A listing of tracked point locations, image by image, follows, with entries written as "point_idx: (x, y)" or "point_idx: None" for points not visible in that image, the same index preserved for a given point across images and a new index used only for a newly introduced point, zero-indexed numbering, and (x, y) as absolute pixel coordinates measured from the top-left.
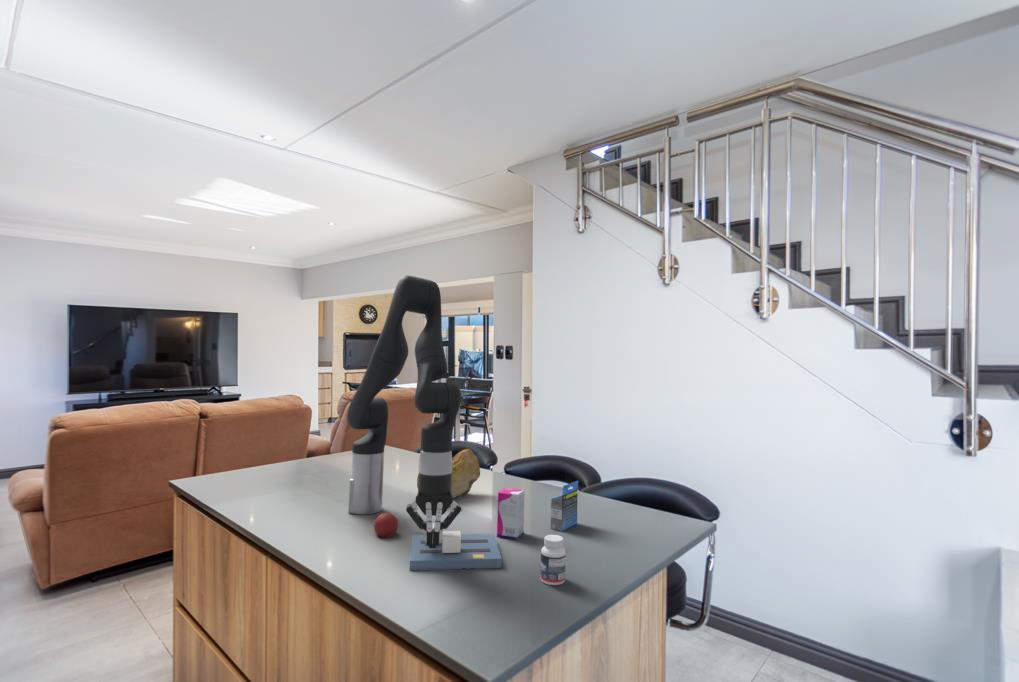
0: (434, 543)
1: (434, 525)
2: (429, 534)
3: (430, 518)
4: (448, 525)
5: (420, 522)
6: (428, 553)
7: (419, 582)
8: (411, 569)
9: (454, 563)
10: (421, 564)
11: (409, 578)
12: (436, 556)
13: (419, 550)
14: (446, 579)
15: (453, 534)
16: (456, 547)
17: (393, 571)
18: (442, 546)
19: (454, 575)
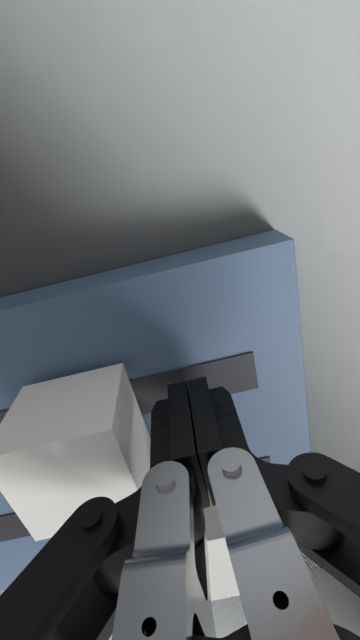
0: (177, 398)
1: (225, 571)
2: (224, 442)
3: (251, 574)
4: (59, 535)
5: (348, 509)
6: (205, 358)
7: (184, 61)
8: (265, 233)
9: (35, 296)
10: (218, 251)
11: (256, 116)
12: (150, 330)
13: (261, 384)
14: (36, 139)
15: (54, 485)
16: (35, 400)
17: (356, 201)
18: (137, 417)
19: (12, 206)
